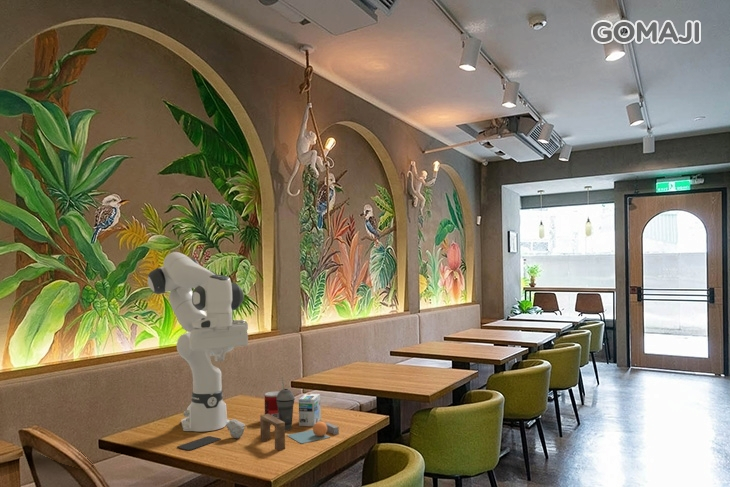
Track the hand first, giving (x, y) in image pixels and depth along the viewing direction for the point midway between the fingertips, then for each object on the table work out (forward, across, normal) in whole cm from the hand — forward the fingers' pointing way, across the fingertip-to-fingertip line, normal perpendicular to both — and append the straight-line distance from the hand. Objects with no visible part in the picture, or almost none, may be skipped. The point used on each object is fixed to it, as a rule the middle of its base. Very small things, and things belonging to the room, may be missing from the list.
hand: (219, 361), depth 185 cm
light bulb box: (+31, -42, -12) cm, 54 cm away
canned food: (+31, -32, -25) cm, 51 cm away
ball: (+28, -36, +6) cm, 47 cm away
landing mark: (+31, -32, +4) cm, 45 cm away
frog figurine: (+31, -10, -11) cm, 35 cm away
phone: (+32, +3, -13) cm, 35 cm away
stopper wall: (+31, -43, +4) cm, 53 cm away
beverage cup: (+31, -30, -10) cm, 45 cm away
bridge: (+31, -18, +4) cm, 36 cm away
